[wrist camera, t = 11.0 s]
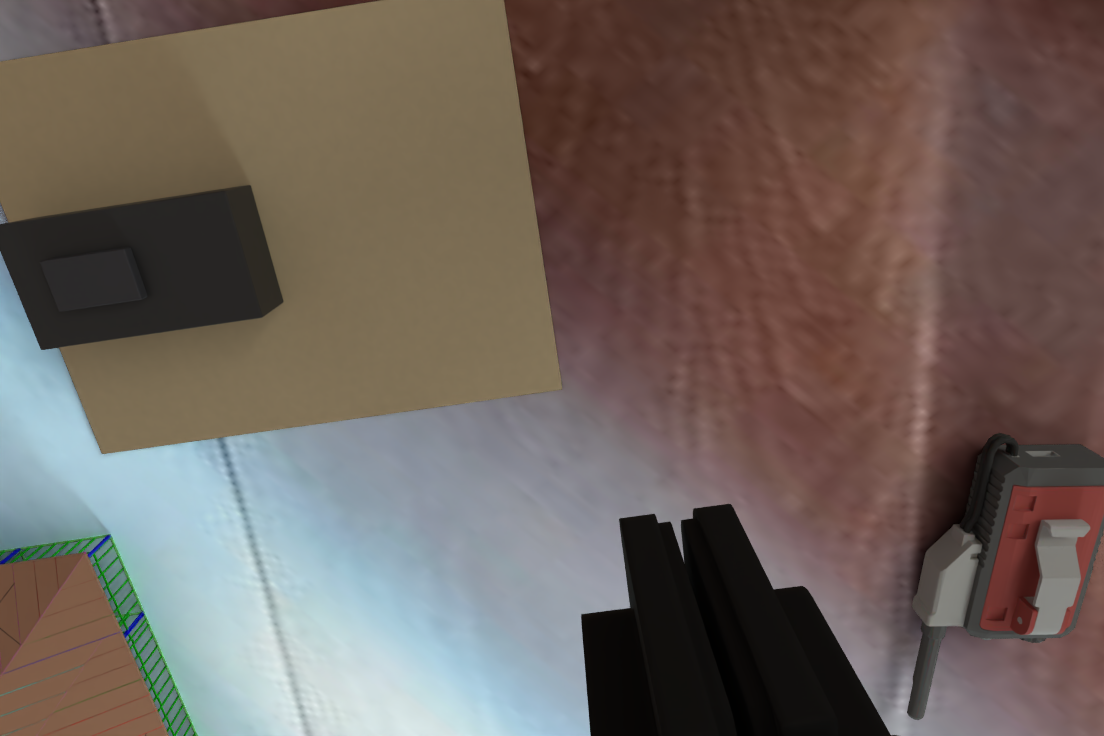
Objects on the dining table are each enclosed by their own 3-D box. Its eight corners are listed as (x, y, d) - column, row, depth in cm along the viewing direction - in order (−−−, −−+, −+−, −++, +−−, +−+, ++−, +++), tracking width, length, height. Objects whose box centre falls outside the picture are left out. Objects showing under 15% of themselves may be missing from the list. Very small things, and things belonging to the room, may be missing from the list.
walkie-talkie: (943, 425, 40) (887, 701, 46) (990, 461, 35) (921, 758, 42) (1096, 423, 40) (1019, 698, 46) (1161, 459, 36) (1066, 756, 42)
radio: (251, 184, 34) (35, 217, 35) (219, 191, 31) (-21, 228, 31) (285, 301, 36) (80, 331, 37) (257, 321, 33) (32, 354, 33)
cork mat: (-49, 70, 33) (-54, 70, 32) (501, -18, 32) (500, -20, 31) (104, 452, 39) (101, 454, 39) (562, 387, 38) (562, 389, 38)
